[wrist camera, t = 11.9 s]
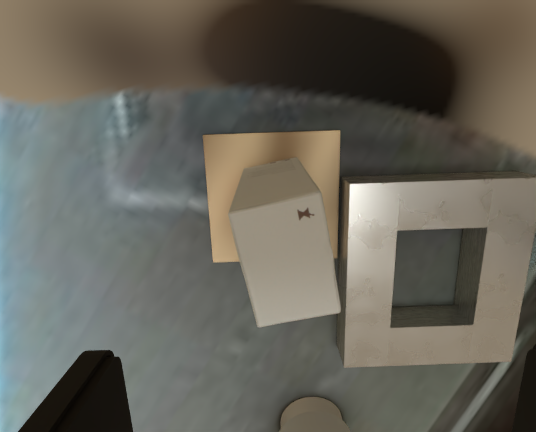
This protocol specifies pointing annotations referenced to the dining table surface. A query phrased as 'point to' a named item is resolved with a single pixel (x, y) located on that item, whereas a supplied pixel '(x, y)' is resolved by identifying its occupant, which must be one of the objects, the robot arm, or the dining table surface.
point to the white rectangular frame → (468, 277)
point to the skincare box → (284, 243)
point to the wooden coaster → (262, 152)
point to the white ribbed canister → (312, 416)
